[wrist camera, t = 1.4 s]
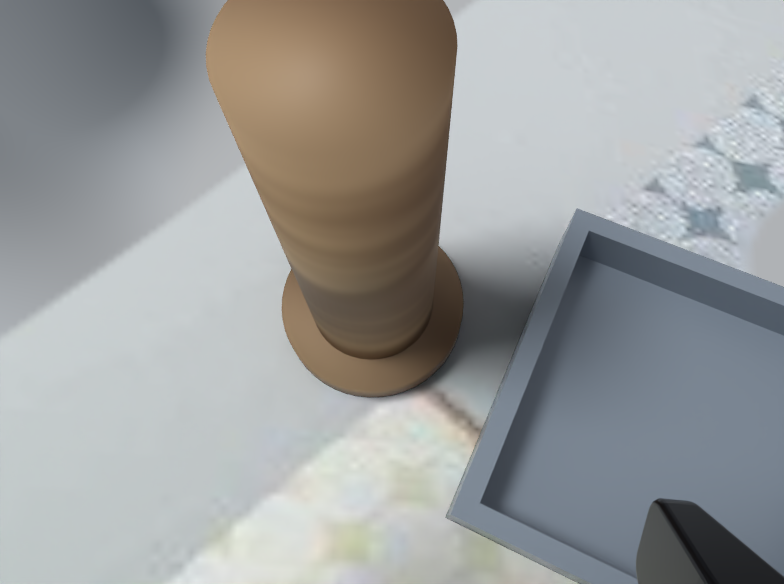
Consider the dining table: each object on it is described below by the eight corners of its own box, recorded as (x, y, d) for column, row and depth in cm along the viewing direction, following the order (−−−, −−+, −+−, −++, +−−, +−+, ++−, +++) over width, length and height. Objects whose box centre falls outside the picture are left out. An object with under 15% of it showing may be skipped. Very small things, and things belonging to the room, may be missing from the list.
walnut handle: (417, 428, 20) (426, 272, 8) (255, 352, 21) (67, 121, 10) (487, 271, 22) (574, -29, 10) (336, 209, 23) (261, -126, 11)
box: (786, 685, 17) (845, 708, 15) (445, 517, 19) (450, 514, 17) (856, 359, 20) (913, 336, 18) (559, 242, 22) (576, 208, 20)
